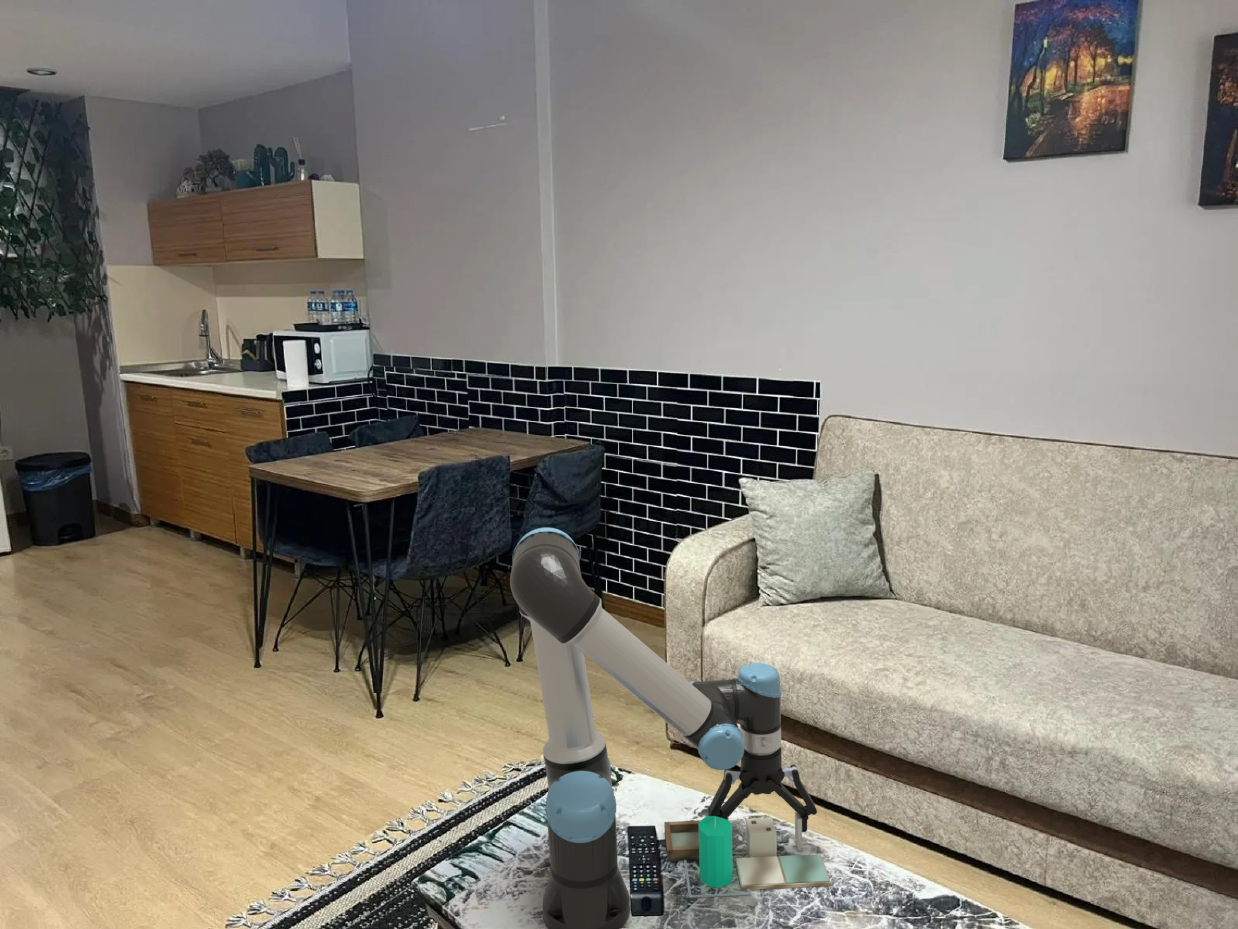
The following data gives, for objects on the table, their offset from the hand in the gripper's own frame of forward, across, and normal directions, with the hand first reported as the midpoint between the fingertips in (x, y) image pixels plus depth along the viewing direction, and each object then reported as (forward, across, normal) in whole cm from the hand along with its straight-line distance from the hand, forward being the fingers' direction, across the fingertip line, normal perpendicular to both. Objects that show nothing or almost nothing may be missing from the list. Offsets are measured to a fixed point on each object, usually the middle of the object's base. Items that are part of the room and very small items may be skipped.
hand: (762, 848), depth 175 cm
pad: (0, -10, -8) cm, 12 cm away
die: (0, 0, 0) cm, 0 cm away
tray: (0, -13, +2) cm, 13 cm away
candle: (0, -10, -8) cm, 12 cm away
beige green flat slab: (0, +2, -8) cm, 8 cm away
